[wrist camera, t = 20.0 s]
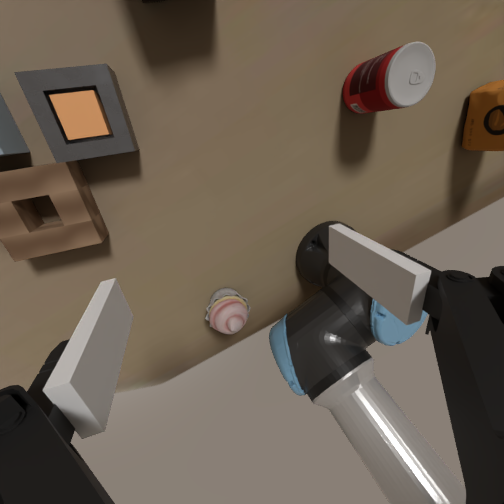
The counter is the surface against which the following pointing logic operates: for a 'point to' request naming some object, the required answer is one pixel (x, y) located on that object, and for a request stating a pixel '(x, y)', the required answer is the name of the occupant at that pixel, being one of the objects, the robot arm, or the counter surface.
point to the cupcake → (227, 311)
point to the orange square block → (82, 114)
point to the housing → (77, 80)
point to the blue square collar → (10, 133)
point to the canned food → (390, 79)
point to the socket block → (65, 201)
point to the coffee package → (485, 118)
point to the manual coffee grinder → (151, 0)
